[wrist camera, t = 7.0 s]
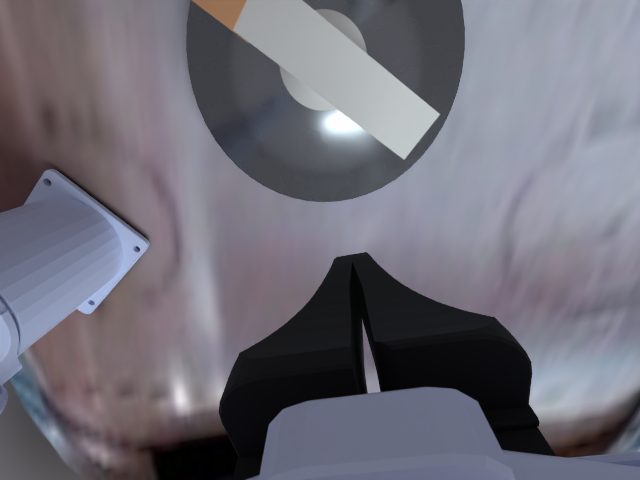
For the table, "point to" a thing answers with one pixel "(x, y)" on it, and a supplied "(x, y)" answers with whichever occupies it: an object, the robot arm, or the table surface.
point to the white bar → (329, 66)
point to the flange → (327, 126)
